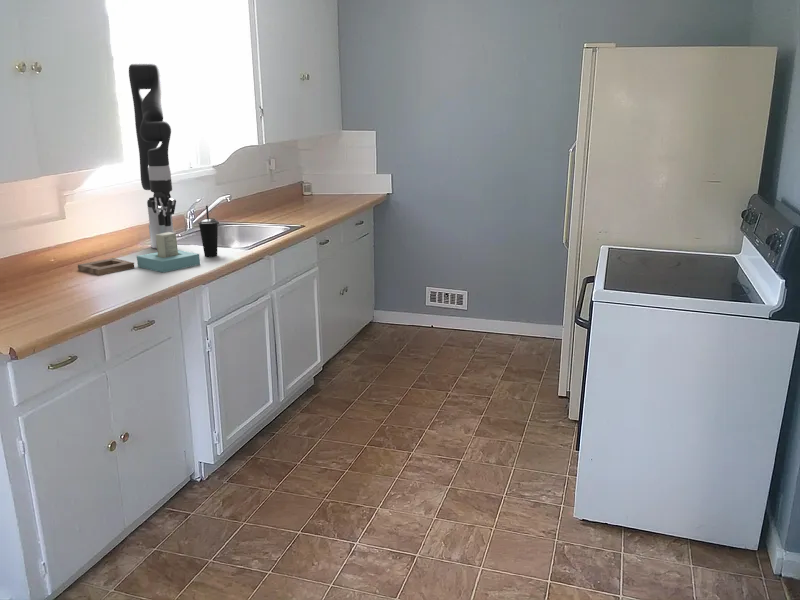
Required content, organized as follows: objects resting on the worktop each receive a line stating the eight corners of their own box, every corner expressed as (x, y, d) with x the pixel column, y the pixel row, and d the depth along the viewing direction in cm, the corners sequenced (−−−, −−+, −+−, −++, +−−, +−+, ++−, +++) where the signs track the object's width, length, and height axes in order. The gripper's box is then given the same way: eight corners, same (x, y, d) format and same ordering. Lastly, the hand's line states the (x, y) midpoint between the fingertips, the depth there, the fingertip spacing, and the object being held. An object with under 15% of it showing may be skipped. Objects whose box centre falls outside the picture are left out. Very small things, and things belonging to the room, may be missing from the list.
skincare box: (172, 263, 265) (169, 231, 262) (179, 264, 262) (176, 232, 259) (158, 266, 260) (154, 234, 257) (165, 267, 258) (162, 235, 254)
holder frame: (78, 270, 255) (77, 264, 255) (113, 263, 266) (113, 258, 266) (98, 275, 247) (98, 269, 247) (134, 268, 258) (133, 262, 257)
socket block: (137, 266, 260) (136, 256, 259) (174, 259, 272) (173, 249, 271) (163, 272, 250) (162, 261, 249) (200, 264, 263) (199, 253, 262)
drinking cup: (201, 258, 273) (196, 207, 267) (201, 254, 280) (196, 204, 274) (221, 257, 274) (217, 206, 269) (220, 253, 282) (216, 203, 276)
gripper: (139, 178, 254) (145, 225, 258) (162, 180, 245) (167, 229, 250) (157, 176, 260) (162, 222, 264) (180, 178, 251) (185, 226, 256)
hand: (165, 225), depth 257 cm, fingers open, 3 cm apart
